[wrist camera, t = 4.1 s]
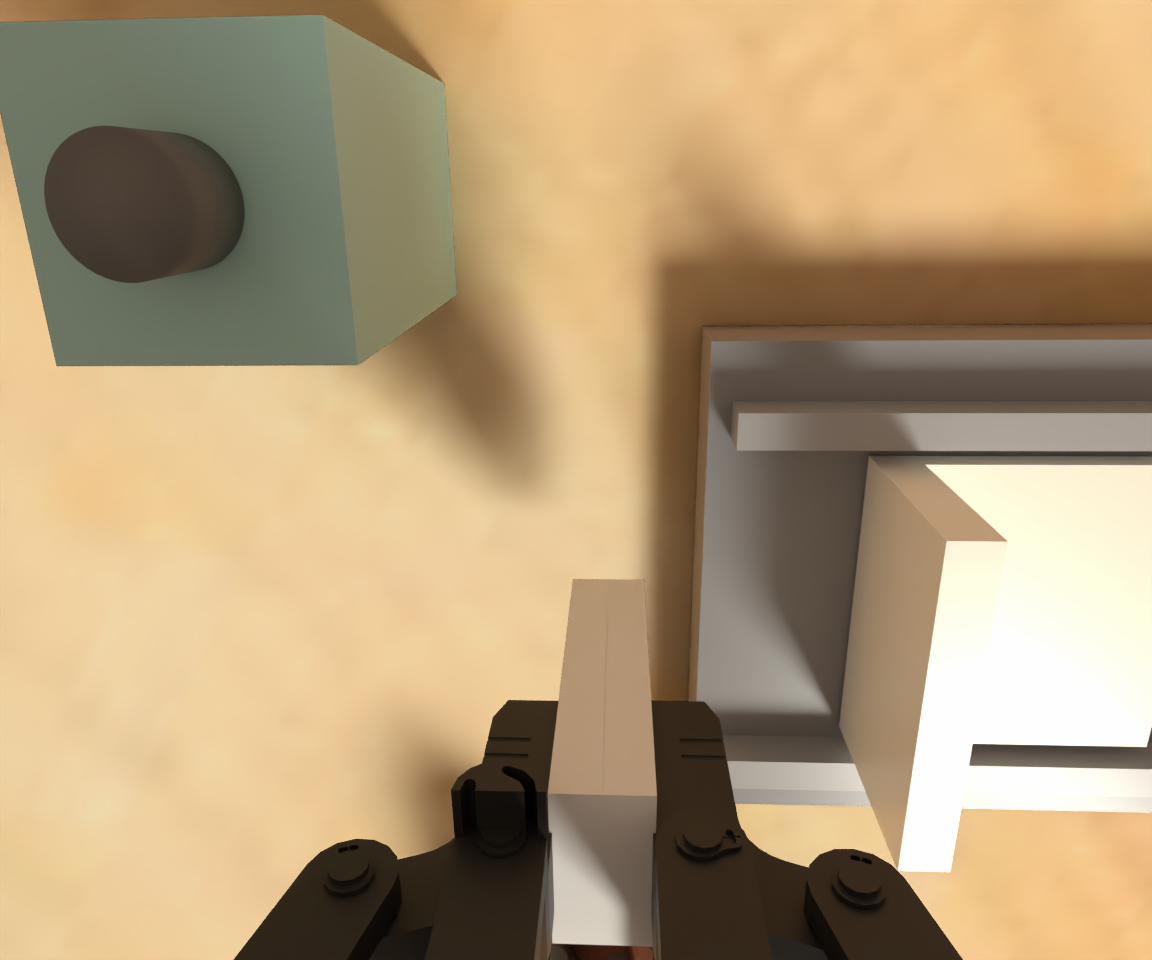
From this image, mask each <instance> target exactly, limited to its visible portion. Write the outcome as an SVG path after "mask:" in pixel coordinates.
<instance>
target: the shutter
mask: <svg viewBox="0 0 1152 960" xmlns="http://www.w3.org/2000/svg"><path fill="white" fill-rule="evenodd" d="M839 727H840V730H841V732H842V735H843V737H844V740H845V742H846V745H847V747H848V749H849V752H850V754H851V757H852V759H853V762H854V764H855V767H856V769H857V772H858V774H859V777H860V779H861V781H862V784H863V786H864V789H865V791H866V794H867V796H868V799H869V801H870V804H871V806H872V809H873V811H874V813H875V816H876V818H877V821H878V823H879V826H880V828H881V831H882V833H883V836H884V838H885V841H886V843H887V845H888V848H889V850H890V853H891V855H892V858H893V860H894V863H895V865H896V868H897V870H898V871H924V872H950V870H951V865H952V859H953V853H954V847H955V842H956V836H957V830H958V825H959V819H960V813H961V808H962V802H963V796H964V790H965V785H966V779H967V773H968V768H969V762H970V756H971V750H972V745H973V744H1013V745H1068V746H1123V747H1147V743H1148V739H1149V736H1150V732H1151V728H1152V456H869V458H868V468H867V477H866V486H865V495H864V504H863V513H862V522H861V531H860V540H859V549H858V558H857V567H856V576H855V586H854V595H853V604H852V613H851V622H850V631H849V640H848V649H847V658H846V667H845V676H844V685H843V694H842V704H841V713H840V722H839Z"/></svg>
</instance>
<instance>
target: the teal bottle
mask: <svg viewBox="0 0 1152 960" xmlns="http://www.w3.org/2000/svg"><path fill="white" fill-rule="evenodd" d="M0 114H1V119H2V123H3V128H4V132H5V137H6V141H7V146H8V150H9V155H10V159H11V164H12V168H13V173H14V177H15V182H16V186H17V191H18V195H19V200H20V204H21V209H22V213H23V218H24V222H25V227H26V231H27V236H28V240H29V244H30V249H31V253H32V258H33V262H34V267H35V271H36V276H37V280H38V285H39V289H40V294H41V298H42V303H43V307H44V312H45V316H46V321H47V325H48V330H49V334H50V339H51V343H52V348H53V352H54V357H55V361H56V366H264V365H359V364H360V363H362V362H363V361H365V360H366V359H367V358H369V357H370V356H372V355H373V354H374V353H376V352H377V351H379V350H380V349H381V348H383V347H384V346H386V345H387V344H388V343H390V342H391V341H393V340H394V339H395V338H397V337H398V336H400V335H401V334H403V333H404V332H405V331H407V330H408V329H410V328H411V327H412V326H414V325H415V324H417V323H418V322H419V321H421V320H422V319H424V318H425V317H426V316H428V315H429V314H431V313H432V312H433V311H435V310H436V309H438V308H439V307H440V306H442V305H443V304H445V303H446V302H447V301H449V300H450V299H452V298H453V297H455V296H456V295H457V286H456V269H455V253H454V236H453V219H452V202H451V185H450V168H449V152H448V135H447V118H446V101H445V84H444V83H443V82H441V81H439V80H437V79H435V78H434V77H432V76H430V75H428V74H427V73H425V72H423V71H421V70H420V69H418V68H416V67H414V66H412V65H411V64H409V63H407V62H405V61H404V60H402V59H400V58H398V57H397V56H395V55H393V54H391V53H389V52H388V51H386V50H384V49H382V48H381V47H379V46H377V45H375V44H374V43H372V42H370V41H368V40H367V39H365V38H363V37H361V36H359V35H358V34H356V33H354V32H352V31H351V30H349V29H347V28H345V27H344V26H342V25H340V24H338V23H336V22H335V21H333V20H331V19H329V18H328V17H326V16H324V15H284V16H241V17H198V18H155V19H112V20H69V21H26V22H0Z"/></svg>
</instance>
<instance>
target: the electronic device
mask: <svg viewBox="0 0 1152 960" xmlns="http://www.w3.org/2000/svg"><path fill="white" fill-rule="evenodd" d="M551 960H653V947H649V946H617V945H586V944H554V943H552V942H551Z"/></svg>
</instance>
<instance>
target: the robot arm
mask: <svg viewBox="0 0 1152 960" xmlns="http://www.w3.org/2000/svg"><path fill="white" fill-rule="evenodd" d="M451 795H452V807H453V820H454V833H455V838H454V839H452V840H451V841H450V842H449V843H447V844H445V845H443V846H441V847H440V848H438V849H436V850H433V851H430V852H427V853H424V854H420V855H416V856H412V857H407V858H403V859H399V860H397V856H396V855H395V854H394V852H393V851H392V850H391V849H390V848H389V847H388V846H387V845H385V844H382V843H380V842H378V841H375V840H367V839H354V840H349V841H345V842H340V843H337V844H335V845H333V846H331V847H329V848H327V849H325V850H323V851H322V852H320V853H319V854H318V855H317V856H316V857H315V858H314V859H313V860H311V861H310V862H309V863H308V864H307V865H306V867H305V868H304V869H303V871H302V872H301V873H300V874H299V876H298V877H297V878H296V880H295V881H294V882H293V884H292V885H291V886H290V887H289V889H288V890H287V891H286V893H285V894H284V895H283V896H282V898H281V899H280V900H279V902H278V903H277V904H276V906H275V907H274V908H273V909H272V911H271V912H270V913H269V915H268V916H267V917H266V919H265V920H264V921H263V922H262V924H261V925H260V926H259V928H258V929H257V930H256V931H255V933H254V934H253V935H252V937H251V938H250V939H249V941H248V942H247V943H246V944H245V946H244V947H243V948H242V950H241V951H240V952H239V953H238V955H237V956H236V957H235V959H234V960H551V942H552V943H554V944H586V945H617V946H649V947H653V960H963V959H962V958H961V956H960V955H959V954H958V952H957V951H956V949H955V948H954V947H953V945H952V944H951V942H950V941H949V940H948V938H947V937H946V935H945V934H944V933H943V931H942V930H941V928H940V927H939V926H938V924H937V923H936V921H935V920H934V919H933V917H932V916H931V914H930V913H929V912H928V910H927V909H926V908H925V906H924V905H923V903H922V902H921V901H920V899H919V898H918V896H917V895H916V894H915V892H914V891H913V889H912V888H911V887H910V885H909V884H908V882H907V881H906V880H905V878H904V877H903V876H902V875H901V874H900V873H899V872H898V871H897V870H896V869H895V868H894V867H893V866H892V865H891V864H889V863H887V862H886V861H884V860H882V859H880V858H879V857H877V856H875V855H873V854H870V853H866V852H862V851H859V850H855V849H834V850H831V851H829V852H826V853H823V854H820V855H819V856H818V857H817V858H816V859H815V860H814V861H813V862H812V863H811V864H810V866H809V868H807V867H804V866H800V865H797V864H793V863H790V862H786V861H783V860H781V859H778V858H776V857H773V856H771V855H769V854H767V853H766V852H764V851H762V850H760V849H759V848H758V847H757V846H755V845H754V844H753V843H752V842H751V841H750V840H749V839H748V838H747V836H746V834H745V832H744V830H743V829H741V827H740V824H739V821H738V817H737V812H736V806H735V801H734V795H733V790H732V784H731V779H730V773H729V768H728V763H727V760H726V752H725V746H724V743H723V735H722V730H721V724H720V719H719V718H718V717H717V716H716V714H715V713H714V712H713V711H712V710H711V709H710V707H709V706H708V705H707V704H706V703H705V702H703V701H651V687H650V670H649V654H648V637H647V620H646V603H645V586H644V580H599V579H573V583H572V592H571V600H570V609H569V617H568V626H567V634H566V642H565V651H564V659H563V668H562V676H561V685H560V693H559V701H526V700H508V701H507V702H506V704H505V705H504V706H503V707H502V708H501V709H500V710H499V711H498V712H497V713H496V715H495V716H494V717H493V720H492V724H491V728H490V732H489V737H488V741H487V745H486V749H485V756H484V758H483V762H482V764H480V765H478V766H475V767H472V768H470V769H469V770H468V771H466V772H465V773H464V774H462V775H461V776H460V777H459V778H458V779H457V781H456V782H455V784H454V786H453V788H452V789H451Z"/></svg>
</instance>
